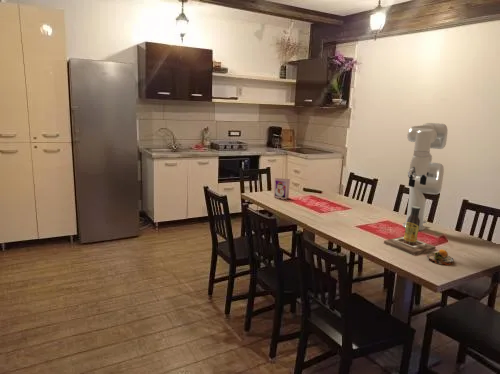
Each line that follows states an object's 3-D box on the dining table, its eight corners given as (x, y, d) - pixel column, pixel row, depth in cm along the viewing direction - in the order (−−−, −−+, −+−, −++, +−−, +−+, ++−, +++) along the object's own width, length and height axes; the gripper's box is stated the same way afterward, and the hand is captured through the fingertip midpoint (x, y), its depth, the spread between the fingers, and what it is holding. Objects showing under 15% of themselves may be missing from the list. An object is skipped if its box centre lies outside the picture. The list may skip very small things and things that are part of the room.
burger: (442, 255, 190) (445, 241, 188) (459, 265, 179) (461, 250, 177) (420, 256, 188) (423, 241, 186) (435, 266, 177) (438, 250, 175)
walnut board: (405, 238, 212) (405, 234, 212) (435, 249, 198) (435, 244, 197) (383, 243, 203) (384, 238, 202) (413, 255, 188) (414, 250, 188)
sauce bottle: (401, 242, 200) (406, 206, 196) (406, 240, 205) (411, 204, 200) (413, 246, 196) (418, 209, 192) (418, 243, 200) (423, 207, 196)
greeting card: (273, 197, 293) (274, 178, 290) (278, 195, 299) (279, 177, 296) (285, 200, 286) (287, 180, 283) (290, 198, 292) (292, 179, 289)
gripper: (424, 151, 207) (420, 182, 212) (404, 154, 198) (400, 185, 203) (437, 153, 201) (433, 185, 205) (417, 156, 192) (413, 189, 196)
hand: (417, 185), depth 204 cm, fingers open, 9 cm apart
